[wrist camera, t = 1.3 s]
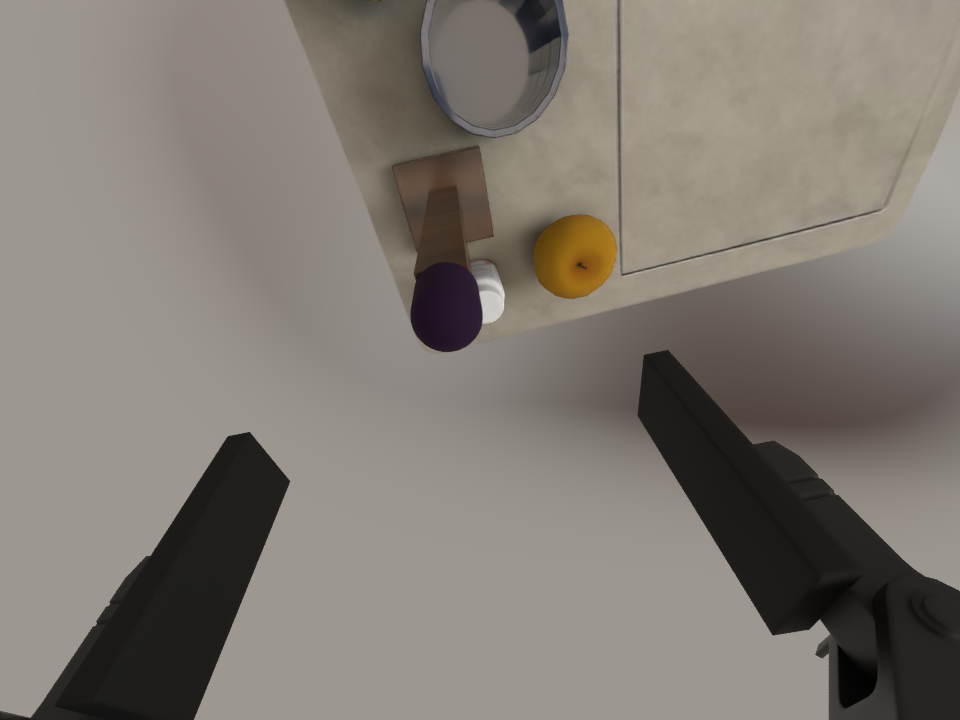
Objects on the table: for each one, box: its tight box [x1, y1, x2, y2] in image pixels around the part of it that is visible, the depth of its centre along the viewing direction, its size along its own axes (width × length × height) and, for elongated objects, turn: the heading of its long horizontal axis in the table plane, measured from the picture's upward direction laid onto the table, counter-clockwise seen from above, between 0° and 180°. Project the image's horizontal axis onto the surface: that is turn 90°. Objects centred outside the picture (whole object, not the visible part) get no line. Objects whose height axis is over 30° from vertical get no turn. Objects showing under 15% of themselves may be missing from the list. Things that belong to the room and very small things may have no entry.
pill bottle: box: [470, 259, 505, 324], centre depth 42 cm, size 5×5×8 cm
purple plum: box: [411, 262, 483, 352], centre depth 19 cm, size 4×4×5 cm
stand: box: [392, 146, 494, 281], centre depth 30 cm, size 9×9×24 cm
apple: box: [533, 215, 617, 299], centre depth 40 cm, size 9×9×9 cm
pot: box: [420, 0, 569, 138], centre depth 30 cm, size 11×11×7 cm
